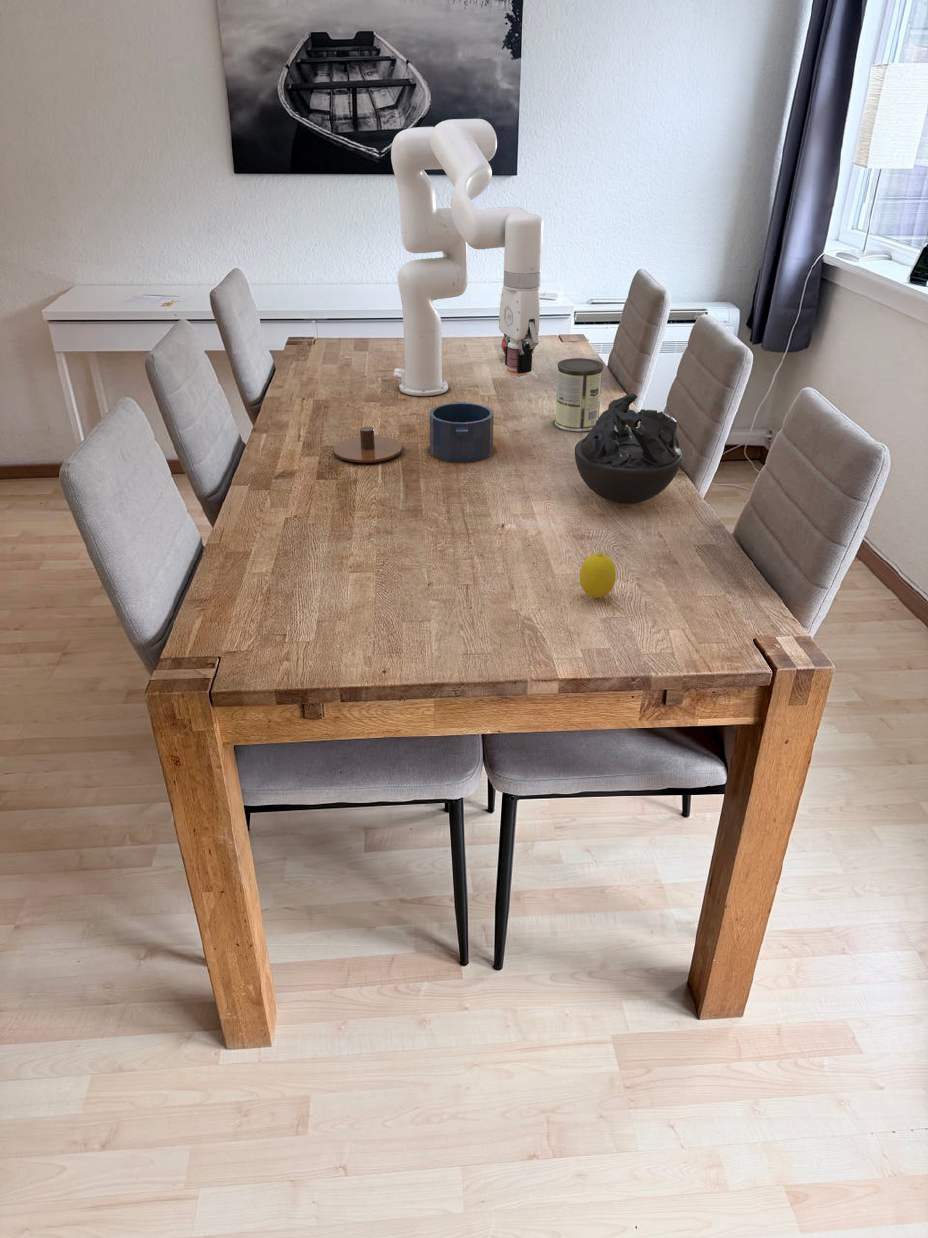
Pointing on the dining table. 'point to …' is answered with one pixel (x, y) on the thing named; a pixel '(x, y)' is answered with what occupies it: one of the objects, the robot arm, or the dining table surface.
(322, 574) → the dining table surface
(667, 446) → the coal bowl
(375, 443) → the lid
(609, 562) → the lemon
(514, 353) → the pill bottle
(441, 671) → the dining table surface
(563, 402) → the coffee can
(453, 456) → the pot
